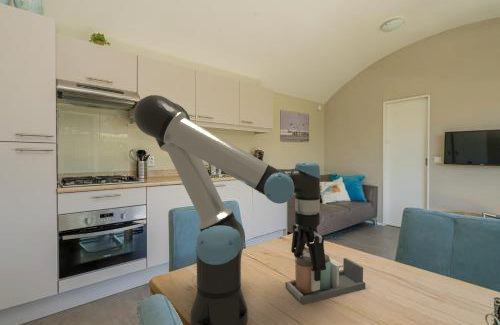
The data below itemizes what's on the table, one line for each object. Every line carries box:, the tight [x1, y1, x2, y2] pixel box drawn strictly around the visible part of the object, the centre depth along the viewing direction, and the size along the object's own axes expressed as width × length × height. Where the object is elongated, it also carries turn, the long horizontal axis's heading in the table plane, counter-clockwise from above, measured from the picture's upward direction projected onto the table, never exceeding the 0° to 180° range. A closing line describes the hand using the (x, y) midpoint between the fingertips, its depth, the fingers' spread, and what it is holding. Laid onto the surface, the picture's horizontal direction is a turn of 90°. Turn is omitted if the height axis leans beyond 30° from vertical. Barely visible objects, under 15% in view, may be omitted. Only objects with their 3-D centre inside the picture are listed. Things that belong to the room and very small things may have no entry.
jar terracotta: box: [294, 256, 315, 296], centre depth 80 cm, size 6×6×10 cm
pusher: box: [329, 256, 343, 288], centre depth 83 cm, size 2×7×8 cm, turn 21°
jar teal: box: [317, 254, 331, 292], centre depth 82 cm, size 6×6×10 cm
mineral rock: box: [303, 246, 311, 258], centre depth 101 cm, size 15×8×4 cm, turn 169°
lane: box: [284, 257, 366, 305], centre depth 82 cm, size 24×10×7 cm, turn 111°
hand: (307, 282), depth 80 cm, fingers open, 8 cm apart
